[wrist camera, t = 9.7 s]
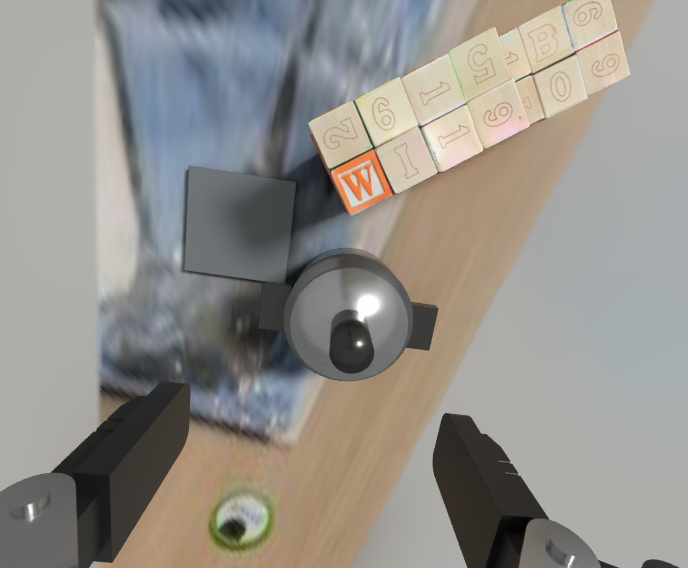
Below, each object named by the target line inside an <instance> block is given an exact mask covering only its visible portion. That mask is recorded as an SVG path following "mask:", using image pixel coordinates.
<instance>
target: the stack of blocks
mask: <svg viewBox="0 0 688 568" xmlns="http://www.w3.org/2000/svg"><path fill="white" fill-rule="evenodd" d="M629 76H630V72H629V68H628V64H627V60H626V56H625V52H624V48H623V44H622V39H621V35H620V32H619V31H617V24H616V20H615V15H614V11H613V7H612V4H611V0H570V1H568V2H566V3H565V4H563V5H562V6H560V5H559V6H557V7H555V8H553V9H551V10H549V11H547V12H545V13H543V14H541V15H540V16H538V17H536V18H534V19H532V20H530V21H528V22H526V23H524V24H523V25H521V26H519V27H518V28H515V29H512V30H510V31H509V32H507V33H505V34H503V35H501V36H499V35H498V32H497V29H496V27H492V28H490V29H488V30H487V31H485V32H483V33H481V34H479V35H477V36H476V37H474V38H472V39H470V40H468V41H466V42H464V43H463V44H461V45H459V46H457V47H455V48H453V49H451V50H449V51H448V53H447V54H445V55H443V56H441V57H439V58H437V59H435V60H433V61H431V62H429V63H428V64H426V65H424V66H422V67H420V68H418V69H416V70H414V71H412V72H411V73H409V74H407V75H405V76H404V77H402V78H400V77H397V78H395V79H393V80H391V81H389V82H387V83H385V84H383V85H381V86H380V87H378V88H376V89H374V90H372V91H370V92H368V93H366V94H364V95H362V96H360V97H358V98H357V99H355V100H354V101H349V102H347V103H345V104H343V105H341V106H339V107H337V108H335V109H333V110H331V111H329V112H327V113H325V114H323V115H321V116H319V117H317V118H315V119H313V120H312V121H310V122H309V123H308V125H309V127H310V130H311V132H312V134H311V135H310V136H311V138H312V141H313V142H314V144H315V146H316V149H317V151H318V153H319V155H320V157H321V160H322V162H323V164H324V166H325V168H326V170H327V172H328V175H329V177H330V179H331V181H332V183H333V185H334V187H335V189H336V191H337V193H338V195H339V197H340V200H341V202H342V204H343V206H344V209H345V211H346V212H347V214H348V215H350V216H353V215H355V214H357V213H359V212H361V211H363V210H365V209H367V208H369V207H371V206H373V205H375V204H377V203H379V202H381V201H383V200H385V199H387V198H389V197H391V196H392V195H396V194H398V193H400V192H402V191H404V190H406V189H408V188H410V187H412V186H414V185H416V184H417V183H419V182H421V181H423V180H425V179H427V178H429V177H431V176H433V175H435V174H438V173H441V172H444V171H446V170H448V169H450V168H452V167H454V166H455V165H457V164H459V163H461V162H463V161H465V160H467V159H469V158H471V157H473V156H475V155H477V154H479V153H480V152H482V151H483V150H485V149H487V148H489V147H491V146H493V145H495V144H497V143H499V142H501V141H503V140H505V139H507V138H508V137H510V136H512V135H514V134H516V133H518V132H520V131H522V130H524V129H526V128H528V127H529V126H530V125H533V124H535V123H538V122H540V121H543V120H546V119H548V118H550V117H552V116H554V115H556V114H558V113H560V112H562V111H565V110H567V109H569V108H571V107H573V106H575V105H577V104H579V103H581V102H583V101H585V100H586V99H587V97H589V96H591V95H593V94H595V93H596V92H598V91H600V90H603V89H605V88H607V87H609V86H611V85H613V84H615V83H617V82H619V81H621V80H623V79H625V78H627V77H629Z"/></svg>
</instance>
